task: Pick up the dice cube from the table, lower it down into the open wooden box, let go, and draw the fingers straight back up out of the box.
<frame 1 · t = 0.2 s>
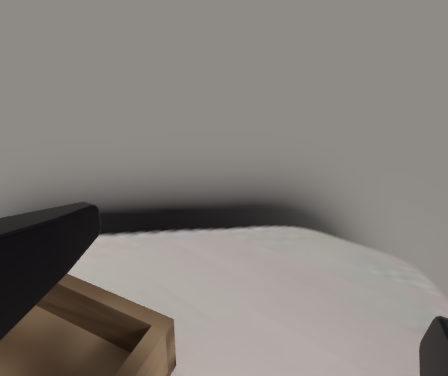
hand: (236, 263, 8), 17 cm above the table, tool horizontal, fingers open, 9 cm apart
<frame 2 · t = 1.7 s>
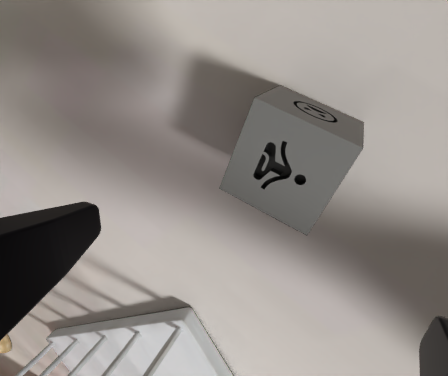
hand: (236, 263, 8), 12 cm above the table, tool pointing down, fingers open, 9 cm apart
dice cube: (301, 141, 19), on the table
file sorter: (152, 373, 36), on the table
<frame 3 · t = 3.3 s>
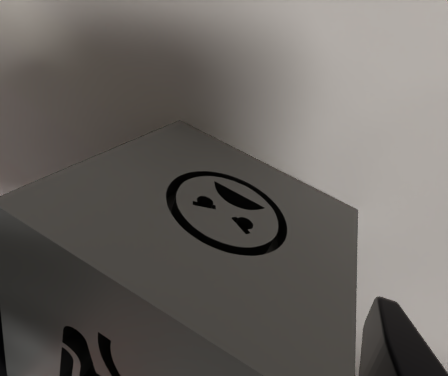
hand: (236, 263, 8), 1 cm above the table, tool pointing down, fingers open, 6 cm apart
dice cube: (233, 229, 9), on the table, touching gripper
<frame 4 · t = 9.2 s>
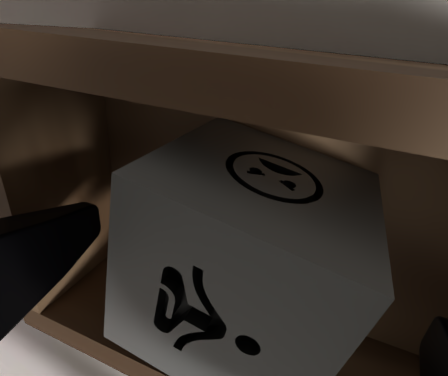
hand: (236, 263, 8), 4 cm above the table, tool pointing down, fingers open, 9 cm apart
open wooden box: (271, 199, 11), on the table
dice cube: (270, 207, 11), point 1 cm above the table, touching open wooden box
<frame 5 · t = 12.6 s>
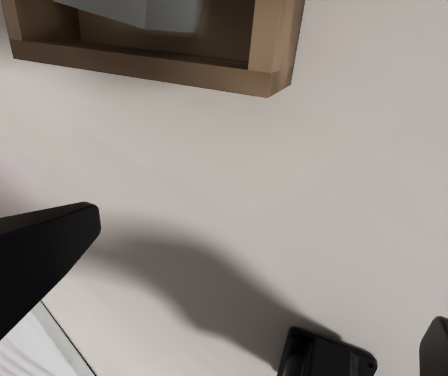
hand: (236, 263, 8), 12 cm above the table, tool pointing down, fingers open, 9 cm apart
file sorter: (33, 348, 47), on the table
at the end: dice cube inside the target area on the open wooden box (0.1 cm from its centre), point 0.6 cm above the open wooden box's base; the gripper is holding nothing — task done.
